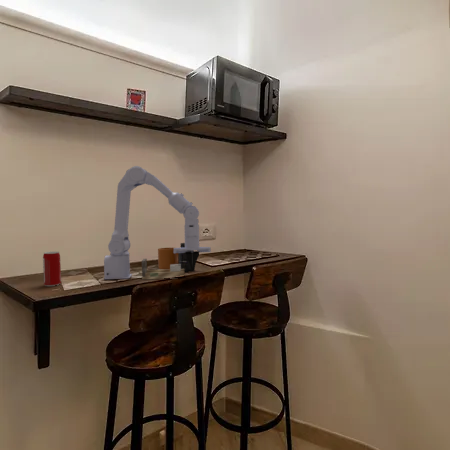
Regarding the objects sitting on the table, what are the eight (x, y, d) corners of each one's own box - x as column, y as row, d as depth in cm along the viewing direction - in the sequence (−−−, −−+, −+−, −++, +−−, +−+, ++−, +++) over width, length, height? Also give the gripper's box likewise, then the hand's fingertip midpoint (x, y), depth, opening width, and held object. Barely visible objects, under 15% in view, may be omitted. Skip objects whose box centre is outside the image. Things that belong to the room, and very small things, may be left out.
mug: (171, 271, 154) (170, 250, 153) (154, 268, 162) (153, 248, 161) (186, 268, 160) (186, 248, 160) (170, 265, 168) (169, 246, 168)
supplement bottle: (179, 272, 149) (178, 244, 148) (177, 270, 155) (176, 242, 155) (195, 271, 151) (195, 243, 150) (192, 269, 157) (192, 242, 157)
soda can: (63, 284, 127) (62, 251, 127) (47, 287, 123) (46, 252, 123) (57, 282, 131) (56, 250, 130) (41, 285, 127) (40, 251, 126)
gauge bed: (142, 279, 134) (141, 261, 134) (143, 276, 141) (143, 258, 141) (184, 277, 136) (184, 259, 136) (184, 274, 143) (184, 257, 143)
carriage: (170, 275, 137) (169, 265, 137) (170, 273, 141) (170, 264, 141) (180, 274, 138) (180, 265, 137) (180, 272, 142) (180, 263, 142)
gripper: (173, 237, 135) (173, 273, 135) (211, 236, 137) (211, 271, 137) (173, 236, 142) (174, 270, 142) (209, 235, 144) (210, 269, 144)
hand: (192, 270), depth 140 cm, fingers closed
